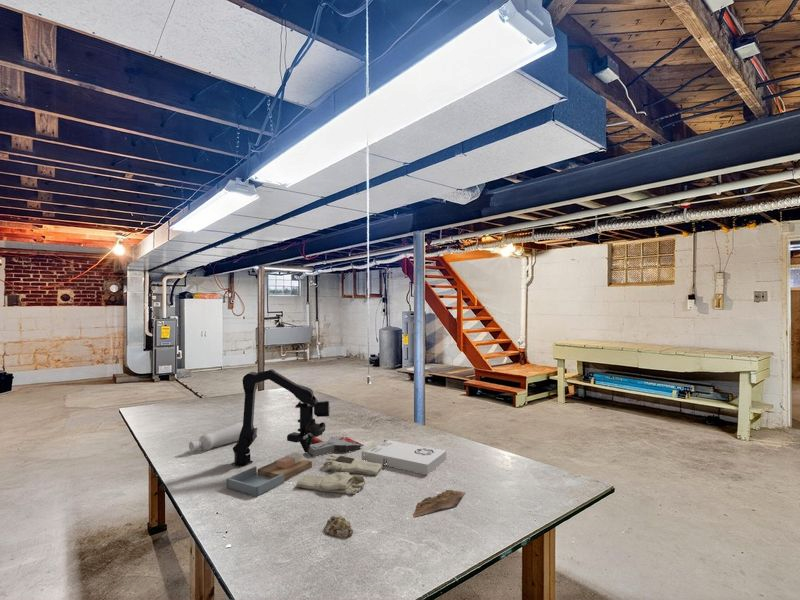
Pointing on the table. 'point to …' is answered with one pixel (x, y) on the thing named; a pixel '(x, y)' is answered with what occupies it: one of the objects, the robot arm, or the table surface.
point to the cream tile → (296, 457)
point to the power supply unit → (406, 456)
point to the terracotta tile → (285, 462)
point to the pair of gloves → (341, 475)
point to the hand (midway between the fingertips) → (306, 452)
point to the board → (284, 469)
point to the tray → (253, 482)
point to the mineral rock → (338, 527)
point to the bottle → (217, 438)
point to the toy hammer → (332, 445)
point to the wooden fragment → (438, 502)
